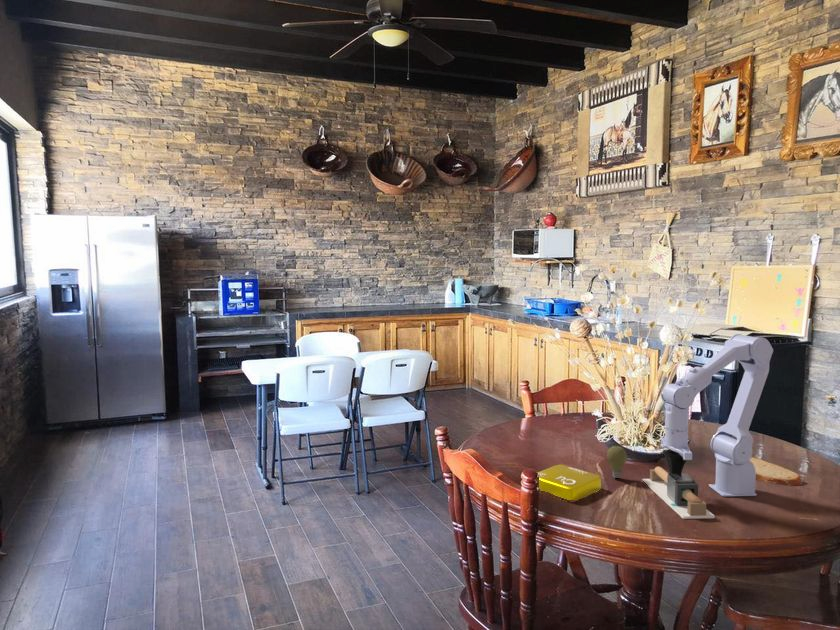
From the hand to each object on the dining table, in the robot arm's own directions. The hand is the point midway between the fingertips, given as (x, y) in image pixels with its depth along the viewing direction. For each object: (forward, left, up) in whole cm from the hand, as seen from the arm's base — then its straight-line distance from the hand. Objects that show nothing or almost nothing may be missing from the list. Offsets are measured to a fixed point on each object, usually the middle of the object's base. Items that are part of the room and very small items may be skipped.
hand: (675, 477), depth 160 cm
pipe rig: (0, +1, -6) cm, 6 cm away
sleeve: (0, +4, -5) cm, 6 cm away
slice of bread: (-34, -17, -6) cm, 38 cm away
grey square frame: (0, +7, -5) cm, 8 cm away
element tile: (+28, -7, -6) cm, 30 cm away
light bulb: (+11, -14, -6) cm, 19 cm away
